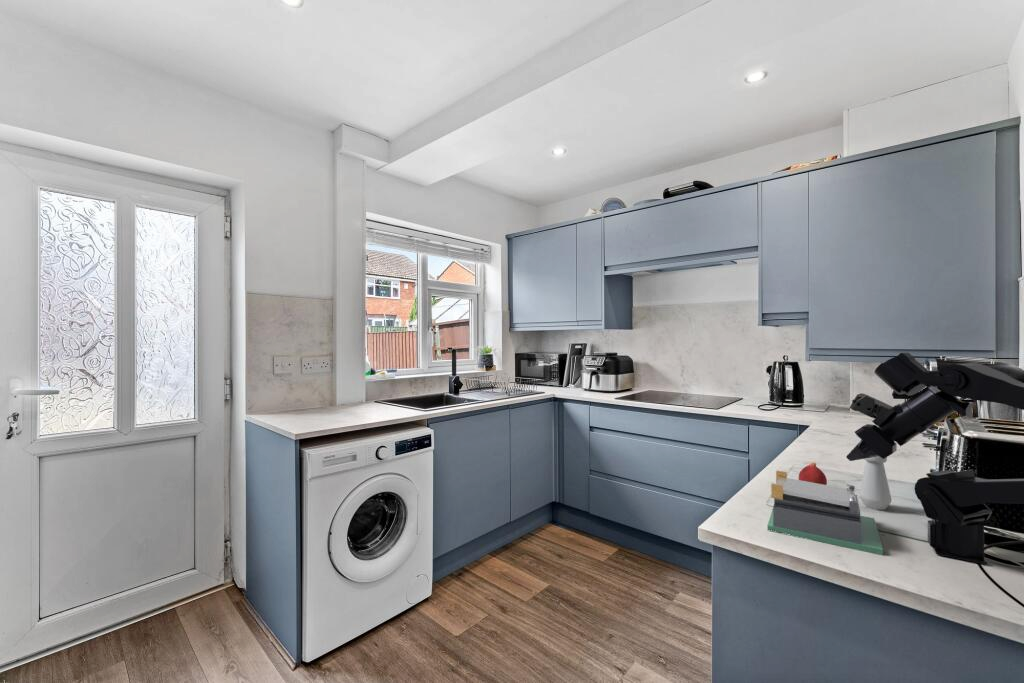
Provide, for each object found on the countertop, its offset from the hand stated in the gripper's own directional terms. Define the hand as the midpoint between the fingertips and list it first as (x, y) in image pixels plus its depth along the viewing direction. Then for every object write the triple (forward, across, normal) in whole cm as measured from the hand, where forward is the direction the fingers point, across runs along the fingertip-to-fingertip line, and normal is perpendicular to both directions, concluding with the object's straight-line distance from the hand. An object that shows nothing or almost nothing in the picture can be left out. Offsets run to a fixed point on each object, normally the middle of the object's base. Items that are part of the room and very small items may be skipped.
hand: (848, 458), depth 92 cm
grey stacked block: (+12, +7, +6) cm, 15 cm away
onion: (+17, -14, +2) cm, 23 cm away
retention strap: (+8, +7, +2) cm, 11 cm away
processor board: (+12, +6, +8) cm, 15 cm away
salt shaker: (+9, -16, +11) cm, 21 cm away
